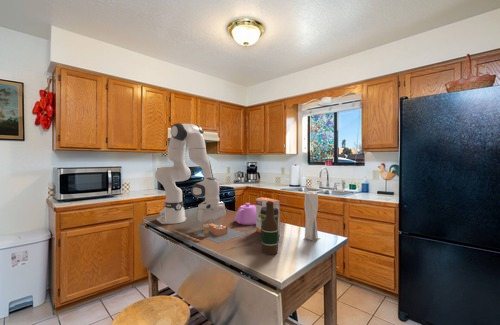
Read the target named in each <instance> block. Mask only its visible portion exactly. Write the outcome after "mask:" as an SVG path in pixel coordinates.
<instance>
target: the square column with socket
mask: <svg viewBox="0 0 500 325" xmlns="http://www.w3.org/2000/svg"><path fill="white" fill-rule="evenodd" d="M205 224H208V226H209V232H212V233H213V234H214V235H217V236H222V235H225V234H227V228H228V226H225V225H222V228H220V229H219V228H218V225H219V224H216V223H215V224H212V223H209V221H208V222H205V223H204V224H203V225H205Z"/></svg>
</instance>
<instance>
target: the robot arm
mask: <svg viewBox="0 0 500 325" xmlns="http://www.w3.org/2000/svg"><path fill="white" fill-rule="evenodd" d="M203 133H204V131H203V128H202V126H200V125H199V124H193V123H179V122H178V123H173V124H172V126H171V129H170V135H171V136H170V140H169V144H168V151H167V153H168V154H167V157H168V159H169V161H171V162H173V166H162V167H159V168H156V170H155V174H154V175H155V179H156V181H157V182H159V183H160V184H161V185H162V187H163V188H164V192H165V202H164V207H163V208H162V209H161V210H160V211H159V217H157V218H156V221H157V222H158V223H160V224H161V225H171V224H172V225H174V224H179V223H180V224H181V223H184V222H185V221H186V220H187V217H186V211H185V207H184V200H183V190H182V189H181V188H180V187H178V186H177V185H176V182H177V183H178V182H184V181H187V180H189V179H190V178H191V175H192V172H191V169H190V168H189V166H188V165H187V164H186V161H185V157H186V156H185V155H186V148H187V150H188V157H189V160H190V161H191V162H192V163H194V164H196V165H197V166H199V167H200V168H201V170H202V175H203V180H202V181H200V182H196V183H194V184H193V185H192V187H191V195H192V196H193V197H194V198H198V199H201V198H204V200H203V201H202V202H201V203H199V204H198V205H197V206H198V211H197V221H198V222H201V223H203V222H207V221H208V222H209V223H212V224H215V225H216V222H217V219H219V218H222V217H225V216H226V215H227V213H226V206H225V203H224V201H220V183H219V180H218V179H217V178H215V177H214V175H213V169H212V166H211V165H212V164H211V161H210V159H209V157H208V154H207V147H206V141H205V138H204V134H203Z"/></svg>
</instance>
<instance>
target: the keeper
mask: <svg viewBox="0 0 500 325" xmlns="http://www.w3.org/2000/svg"><path fill="white" fill-rule="evenodd" d="M202 228H203V230H204V237H209V226H208V224H205V225H204V224H202ZM204 237H203V238H204Z"/></svg>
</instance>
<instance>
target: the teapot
mask: <svg viewBox="0 0 500 325" xmlns="http://www.w3.org/2000/svg"><path fill="white" fill-rule="evenodd" d="M234 220H235V222H236V223H237V224H239V225H243V226H251V225H253V226H254V225H255V226H256V204H251V203H250V202H245V203H244V204H243V205H240V206H239V207H238V209H237V210H236V213H235V217H234Z"/></svg>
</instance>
